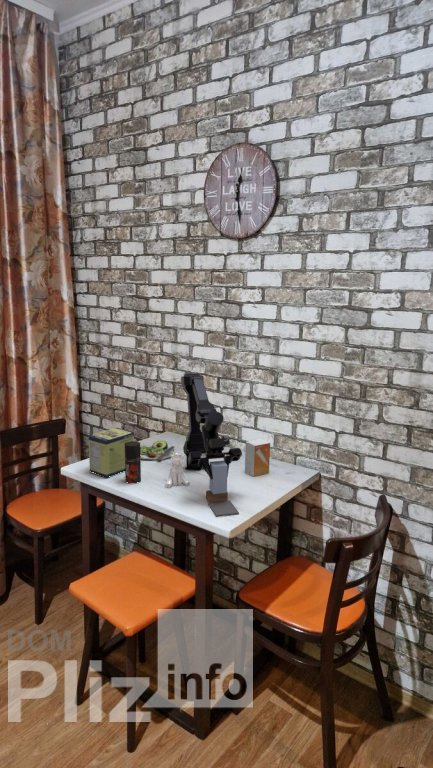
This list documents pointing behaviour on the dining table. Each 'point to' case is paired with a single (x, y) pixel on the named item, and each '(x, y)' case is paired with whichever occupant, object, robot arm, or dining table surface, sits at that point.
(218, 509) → the charcoal felt mat
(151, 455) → the salad plate
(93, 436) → the protein box
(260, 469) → the small box
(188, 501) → the dining table surface
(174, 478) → the white creature statuette
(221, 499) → the walnut plinth
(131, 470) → the deodorant
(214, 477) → the slate-blue block
